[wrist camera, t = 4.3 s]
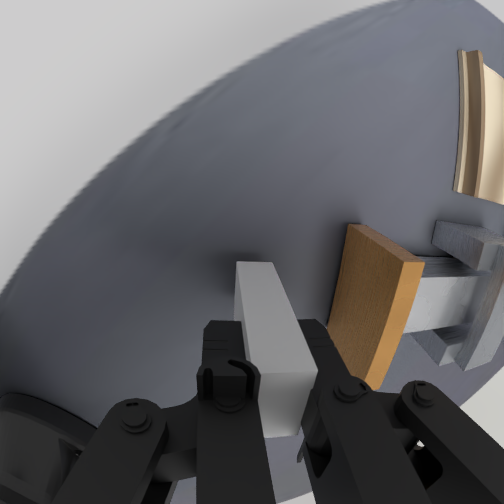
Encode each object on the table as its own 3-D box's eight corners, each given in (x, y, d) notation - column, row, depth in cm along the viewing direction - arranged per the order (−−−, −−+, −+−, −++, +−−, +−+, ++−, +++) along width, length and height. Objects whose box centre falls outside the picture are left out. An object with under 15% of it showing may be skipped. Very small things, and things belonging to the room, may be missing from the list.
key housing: (405, 328, 16) (447, 376, 12) (436, 220, 14) (498, 250, 9) (454, 321, 17) (494, 359, 12) (483, 227, 15) (536, 253, 10)
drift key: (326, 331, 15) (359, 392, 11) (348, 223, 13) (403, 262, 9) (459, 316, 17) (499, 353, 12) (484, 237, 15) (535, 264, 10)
